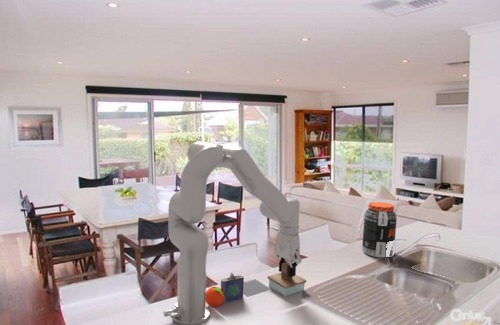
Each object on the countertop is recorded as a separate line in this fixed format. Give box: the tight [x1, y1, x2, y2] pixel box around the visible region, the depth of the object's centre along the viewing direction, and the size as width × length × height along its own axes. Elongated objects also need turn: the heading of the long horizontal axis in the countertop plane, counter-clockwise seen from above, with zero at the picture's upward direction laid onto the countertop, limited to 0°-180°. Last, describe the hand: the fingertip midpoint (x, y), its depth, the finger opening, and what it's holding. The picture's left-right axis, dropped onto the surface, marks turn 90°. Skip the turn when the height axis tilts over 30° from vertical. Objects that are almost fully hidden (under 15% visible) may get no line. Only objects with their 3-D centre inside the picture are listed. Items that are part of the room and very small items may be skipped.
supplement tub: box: [361, 201, 398, 259], centre depth 194 cm, size 16×16×26 cm
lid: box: [267, 261, 307, 289], centre depth 150 cm, size 11×11×7 cm
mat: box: [243, 279, 272, 298], centre depth 151 cm, size 12×11×1 cm
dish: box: [268, 279, 306, 297], centre depth 151 cm, size 10×10×4 cm
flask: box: [220, 272, 245, 304], centre depth 140 cm, size 9×3×11 cm, turn 118°
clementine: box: [206, 286, 224, 308], centre depth 136 cm, size 8×7×7 cm
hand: (287, 273), depth 150 cm, fingers open, 5 cm apart
